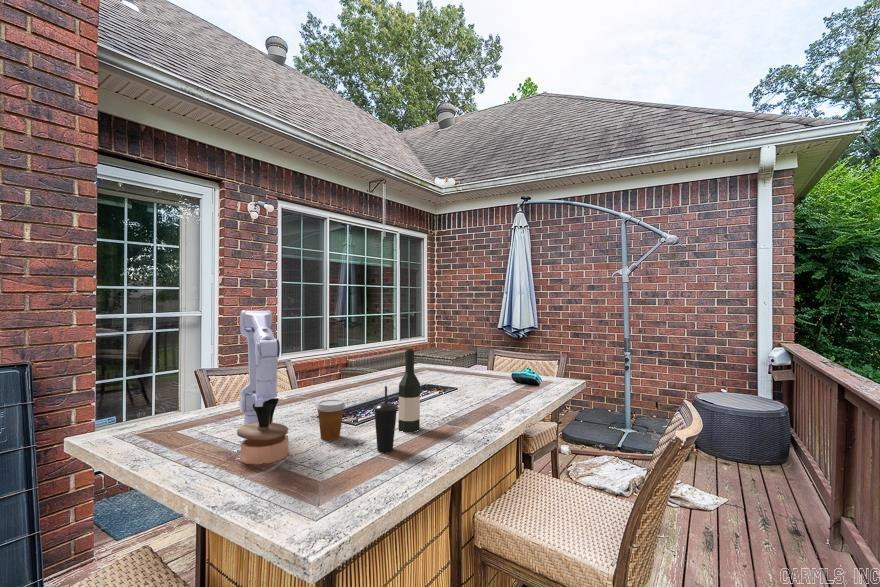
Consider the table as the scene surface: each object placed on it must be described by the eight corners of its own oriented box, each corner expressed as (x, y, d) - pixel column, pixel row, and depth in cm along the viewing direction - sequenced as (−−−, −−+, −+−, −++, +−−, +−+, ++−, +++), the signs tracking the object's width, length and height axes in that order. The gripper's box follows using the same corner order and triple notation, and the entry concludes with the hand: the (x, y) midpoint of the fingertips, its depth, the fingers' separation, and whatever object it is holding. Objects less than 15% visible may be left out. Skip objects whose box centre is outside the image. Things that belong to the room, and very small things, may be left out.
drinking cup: (392, 455, 120) (393, 389, 121) (369, 453, 122) (370, 388, 122) (400, 446, 128) (401, 384, 128) (377, 445, 129) (378, 383, 130)
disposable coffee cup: (315, 443, 131) (316, 406, 131) (316, 434, 140) (317, 400, 140) (344, 440, 133) (345, 404, 134) (343, 432, 142) (344, 398, 143)
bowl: (257, 448, 125) (258, 432, 126) (295, 450, 124) (295, 434, 124) (231, 463, 113) (231, 446, 113) (273, 466, 111) (273, 448, 111)
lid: (254, 423, 126) (256, 407, 126) (296, 428, 125) (297, 413, 125) (226, 436, 112) (228, 419, 113) (272, 442, 111) (274, 425, 111)
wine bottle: (394, 427, 148) (395, 347, 149) (415, 425, 152) (416, 346, 153) (402, 434, 141) (403, 349, 142) (423, 431, 144) (424, 348, 145)
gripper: (260, 375, 126) (259, 418, 125) (244, 384, 111) (242, 433, 111) (283, 375, 127) (282, 418, 126) (270, 384, 112) (269, 432, 112)
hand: (265, 425), depth 119 cm, fingers closed on lid, 3 cm apart
